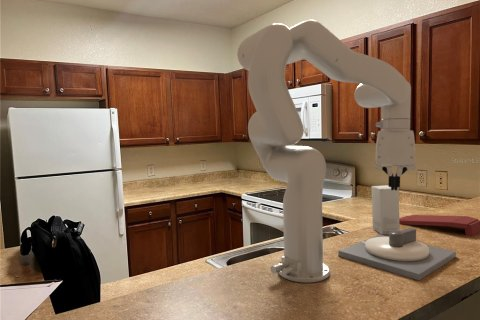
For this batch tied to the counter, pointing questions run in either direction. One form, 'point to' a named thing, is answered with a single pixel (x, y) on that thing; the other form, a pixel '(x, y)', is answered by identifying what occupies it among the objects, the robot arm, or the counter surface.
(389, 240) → the dial
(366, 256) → the dial plate
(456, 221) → the dark red ramp
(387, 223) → the skincare box
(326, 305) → the counter surface
